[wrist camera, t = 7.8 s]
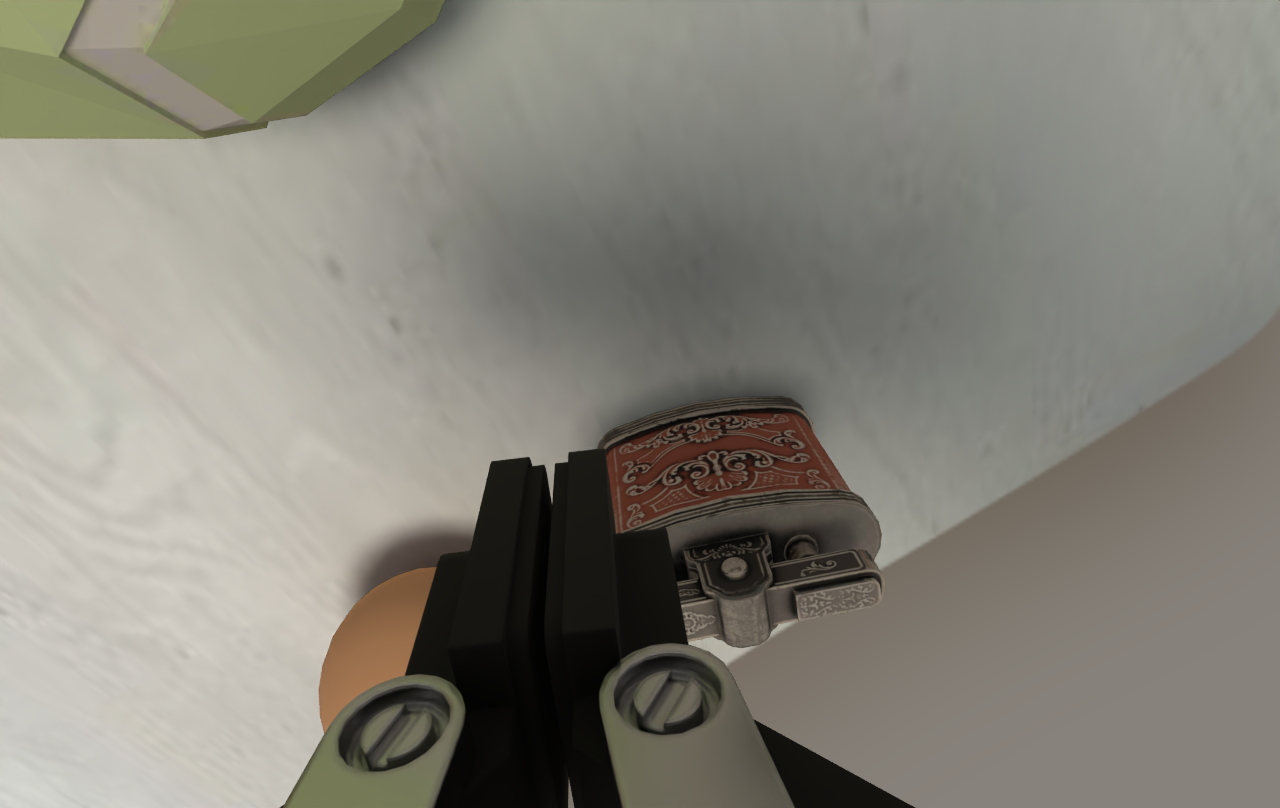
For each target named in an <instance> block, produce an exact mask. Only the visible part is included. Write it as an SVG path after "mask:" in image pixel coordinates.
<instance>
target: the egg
mask: <svg viewBox="0 0 1280 808" xmlns="http://www.w3.org/2000/svg"><path fill="white" fill-rule="evenodd" d="M436 568H437V567H432V568H419V569H415V570H412V571H409V572H405V573H402V574H399V575H396V576H394V577H392V578H391V579H389V580H387V581H385V582H383V583H381V584H379V585H377V586H376V587H375V588H374V589H372V590H371V591H370V592H369V593H367V594H366V595H365V596H364V597H363V598H361V599H360V600H359V601H358V602H357V603H356V604H355V605H354V606H353V608H352V609H351V610H350V612H349V613H348V615H347V616H346V617H345V619H344V620H343V622H342V623H341V625H340V626H339V628H338V629H337V631H336V633H335V634H334V636H333V638H332V641H331V644H330V646H329V649H328V652H327V655H326V658H325V660H324V663H323V666H322V672H321V679H320V685H319V705H320V718H321V722H322V726H323V730H324V734H325V732H326V730H327V729H328V727H329V725H330V724H331V723H332V721H333V720H334V719H335V717H336V716H337V715H338V713H339V712H340V711H341V709H342V708H344V707H345V706H346V705H347V704H348V703H350V702H351V701H352V700H353V699H354V698H355V697H357V696H358V695H359V694H361V693H363V692H364V691H366V690H368V689H370V688H372V687H373V686H375V685H377V684H379V683H382V682H385V681H388V680H391V679H394V678H397V677H401V676H405V673H406V669H407V666H408V662H409V659H410V656H411V652H412V649H413V645H414V642H415V639H416V635H417V632H418V629H419V625H420V622H421V618H422V615H423V612H424V608H425V605H426V601H427V598H428V595H429V591H430V588H431V585H432V581H433V578H434V574H435V571H436Z"/></svg>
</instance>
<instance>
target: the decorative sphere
mask: <svg viewBox="0 0 1280 808" xmlns="http://www.w3.org/2000/svg"><path fill="white" fill-rule="evenodd" d="M444 1H445V0H0V138H104V139H206V138H211V137H217V136H223V135H229V134H234V133H240V132H246V131H252V130H257V129H263V128H267V125H268V122H269V121H273V120H280V119H286V118H293V117H299V116H306V115H308V114H309V113H310V112H312V111H313V110H314V109H316V108H317V107H319V106H320V105H321V104H323V103H324V102H325V101H327V100H328V99H330V98H331V97H332V96H334V95H335V94H337V93H338V92H339V91H341V90H342V89H343V88H345V87H346V86H348V85H349V84H350V83H352V82H353V81H354V80H356V79H357V78H359V77H360V76H361V75H363V74H364V73H365V72H367V71H368V70H370V69H371V68H372V67H374V66H375V65H377V64H378V63H379V62H381V61H382V60H383V59H385V58H386V57H388V56H389V55H390V54H392V53H393V52H394V51H396V50H397V49H399V48H400V47H401V46H403V45H404V44H405V43H407V42H408V41H410V40H411V39H412V38H414V37H415V36H416V35H418V34H419V33H421V32H422V31H423V30H425V29H426V28H428V27H429V26H430V25H432V24H433V23H434V22H436V20H437V18H438V15H439V13H440V10H441V8H442V5H443V3H444Z"/></svg>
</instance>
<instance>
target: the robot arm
mask: <svg viewBox="0 0 1280 808" xmlns="http://www.w3.org/2000/svg"><path fill="white" fill-rule="evenodd" d="M568 780H570V786H571V791H572V797H573V802H574V808H915V807H913V806H911V805H909V804H907V803H905V802H904V801H902V800H900V799H898V798H896V797H895V796H893V795H891V794H889V793H887V792H886V791H883V790H882V789H880V788H878V787H876V786H875V785H873V784H871V783H869V782H867V781H865V780H864V779H862V778H860V777H858V776H856V775H854V774H853V773H851V772H849V771H847V770H845V769H844V768H842V767H840V766H838V765H836V764H834V763H833V762H830V761H829V760H827V759H825V758H823V757H822V756H820V755H818V754H816V753H814V752H813V751H810V750H809V749H807V748H805V747H803V746H802V745H800V744H798V743H796V742H794V741H792V740H790V739H789V738H787V737H785V736H783V735H781V734H780V733H778V732H776V731H774V730H772V729H771V728H769V727H767V726H765V725H763V724H761V723H759V722H758V721H756V720H754V719H753V717H752V715H751V713H750V711H749V709H748V707H747V705H746V702H745V700H744V698H743V696H742V694H741V692H740V690H739V687H738V685H737V683H736V681H735V679H734V677H733V675H732V674H731V672H730V671H729V669H728V668H727V667H726V665H725V664H724V662H723V661H721V660H720V659H718V658H717V657H716V656H714V655H713V654H711V653H710V652H709V651H706V650H703V649H700V648H697V647H695V646H692V645H689V644H688V639H687V634H686V628H685V623H684V618H683V612H682V607H681V602H680V596H679V591H678V586H677V580H676V575H675V569H674V564H673V559H672V553H671V548H670V543H669V537H668V532H667V529H666V528H658V529H650V530H642V531H633V532H625V533H617V534H616V528H615V520H614V512H613V504H612V496H611V488H610V480H609V473H608V465H607V457H606V450H605V448H603V449H594V450H585V451H577V452H569V455H568V462H565V463H556V464H555V473H554V488H553V502H551V496H550V490H549V484H548V478H547V472H546V468H545V465H539V466H532V463H531V460H530V458H529V457H525V458H517V459H508V460H500V461H492V462H491V464H490V468H489V473H488V477H487V481H486V485H485V490H484V494H483V498H482V502H481V507H480V511H479V515H478V519H477V524H476V528H475V532H474V536H473V541H472V545H471V549H470V551H466V552H458V553H449V554H444V555H442V556H441V557H440V559H439V561H438V564H437V568H436V571H435V574H434V578H433V581H432V585H431V588H430V591H429V595H428V598H427V601H426V605H425V608H424V612H423V615H422V618H421V622H420V625H419V629H418V632H417V635H416V639H415V642H414V645H413V649H412V652H411V656H410V659H409V662H408V666H407V669H406V673H405V676H401V677H397V678H394V679H391V680H388V681H385V682H382V683H379V684H377V685H375V686H373V687H372V688H370V689H368V690H366V691H364V692H363V693H361V694H359V695H358V696H357V697H355V698H354V699H353V700H352V701H351V702H350V703H348V704H347V705H346V706H345V707H344V708H342V709H341V711H340V712H339V713H338V715H337V716H336V717H335V719H334V720H333V721H332V723H331V724H330V725H329V727H328V729H327V730H326V732H325V734H324V736H323V737H322V739H321V741H320V743H319V744H318V746H317V748H316V750H315V752H314V753H313V755H312V757H311V759H310V760H309V762H308V764H307V766H306V767H305V769H304V771H303V773H302V774H301V776H300V778H299V780H298V782H297V783H296V785H295V787H294V789H293V790H292V792H291V794H290V796H289V797H288V799H287V801H286V803H285V804H284V805H283V806H282V807H280V808H568V784H569V783H568V782H569V781H568Z"/></svg>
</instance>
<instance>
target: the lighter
mask: <svg viewBox="0 0 1280 808" xmlns="http://www.w3.org/2000/svg"><path fill="white" fill-rule="evenodd" d="M603 448H605V450H606V457H607V465H608V473H609V480H610V488H611V496H612V504H613V512H614V520H615V528H616V534H617V533H625V532H633V531H642V530H650V529H658V528H666V529H667V532H668V537H669V543H670V548H671V553H672V559H673V564H674V569H675V575H676V580H677V586H678V591H679V596H680V602H681V607H682V612H683V618H684V623H685V628H686V634H687V639H688V642H689V641H694V640H699V639H704V638H709V637H714V638H716V639H719V640H723V641H724V642H725V643H726V644H728V645H730V646H732V647H738V648H745V647H750V646H755V645H759V644H761V643H763V642H764V641H766V640H767V639H768V638H769V636H770V634H771V631H772V630H773V629H775V628H776V627H777V626H778V624H782V623H787V622H792V621H797V620H798V621H802V620H807V619H811V618H817V617H822V616H828V615H832V614H837V613H843V612H848V611H853V610H858V609H863V608H868V607H872V606H875V605H877V604H878V603H879V602H880V601H881V599H882V598H883V596H884V591H885V583H884V578H883V575H882V573H881V572H880V570H879V568H878V567H877V565H876V563H875V562H874V559H875V557H876V555H877V553H878V551H879V549H880V545H881V536H882V534H881V529H880V525H879V522H878V520H877V519H876V517H875V516H874V514H873V513H872V511H871V510H870V508H869V507H868V505H867V504H866V503H865V501H864V500H863V498H862V497H860V496H859V495H857V494H855V493H854V492H852V491H851V490H850V489H849V487H848V486H847V484H846V482H845V481H844V479H843V478H842V476H841V475H840V473H839V472H838V470H837V469H836V467H835V466H834V464H833V462H832V461H831V459H830V458H829V456H828V455H827V453H826V452H825V450H824V449H823V447H822V446H821V444H820V442H819V441H818V439H817V438H816V436H815V430H814V427H813V423H812V421H811V420H810V418H809V417H808V415H807V414H806V412H805V411H804V409H803V408H802V407H801V405H800V404H799V403H797V402H796V401H794V400H793V399H791V398H787V397H781V396H776V397H737V398H729V399H721V400H714V401H706V402H698V403H693V404H689V405H686V406H682V407H678V408H674V409H670V410H667V411H663V412H659V413H655V414H652V415H649V416H647V417H644V418H642V419H639V420H636V421H634V422H631V423H629V424H626V425H623V426H621V427H618V428H615V429H613V430H612V431H610V432H609V433H607V434H606V435H605V436H604V437H603V439H602V440H601V441H600V443H599V446H598V449H603Z"/></svg>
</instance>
